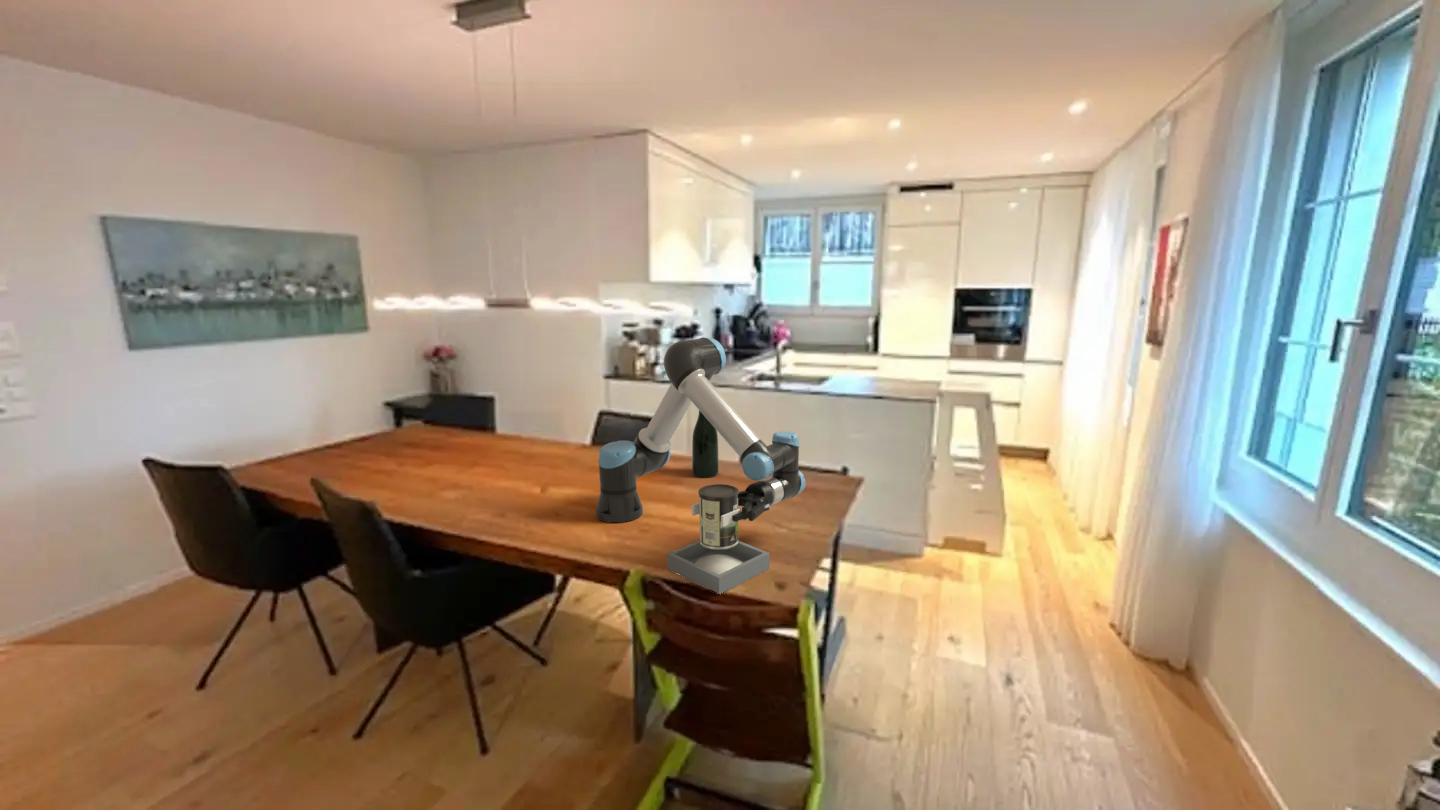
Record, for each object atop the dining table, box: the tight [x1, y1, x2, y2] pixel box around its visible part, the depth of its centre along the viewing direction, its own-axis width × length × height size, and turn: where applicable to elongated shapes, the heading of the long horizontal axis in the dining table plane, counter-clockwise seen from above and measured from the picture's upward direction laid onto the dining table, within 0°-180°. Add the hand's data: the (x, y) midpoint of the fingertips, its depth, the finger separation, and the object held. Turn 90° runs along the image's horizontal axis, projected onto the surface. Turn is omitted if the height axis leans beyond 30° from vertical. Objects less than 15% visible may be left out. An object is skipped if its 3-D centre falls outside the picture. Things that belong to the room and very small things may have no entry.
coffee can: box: [698, 483, 740, 550], centre depth 157 cm, size 10×10×14 cm
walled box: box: [667, 539, 771, 595], centre depth 159 cm, size 19×19×4 cm
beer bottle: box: [691, 409, 720, 478], centre depth 235 cm, size 10×10×33 cm
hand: (706, 515), depth 153 cm, fingers closed on coffee can, 10 cm apart
